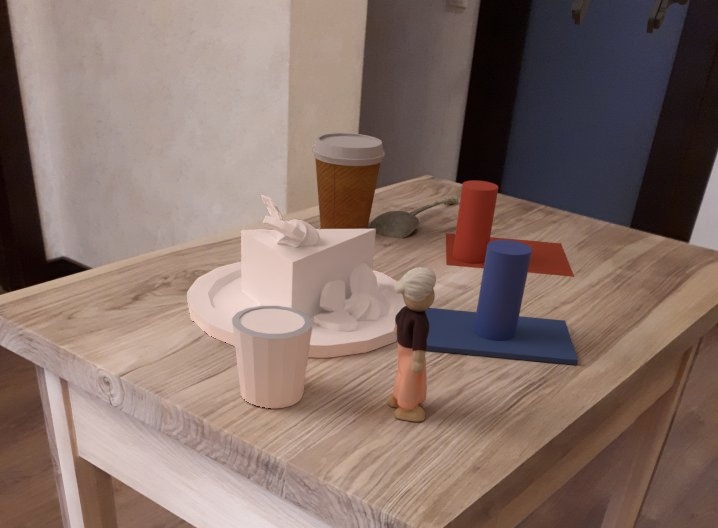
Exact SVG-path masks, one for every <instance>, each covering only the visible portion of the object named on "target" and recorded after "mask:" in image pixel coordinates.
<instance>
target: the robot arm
mask: <svg viewBox="0 0 718 528" xmlns="http://www.w3.org/2000/svg"><path fill="white" fill-rule="evenodd" d="M689 1H690V0H654V3H653V5H652V8H651V11H650V14H649V16H648V19H647V24H646V34H654V32H655V30H660V28H661V27H662V26H663V23H664V20H665V18H666V15H667V12H668V10H669V8H670V6H672V5H673V4H678V5H680V6H685V5H687V4H688V3H689ZM590 2H591V0H573V1H572V4H571V20H573V21H574V22H573V24H574V25H577V26H581V25H582V23H583V20H584V17H585V14H586V12H587V10H588V8H589V5H590Z"/></svg>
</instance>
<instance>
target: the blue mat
mask: <svg viewBox="0 0 718 528" xmlns="http://www.w3.org/2000/svg"><path fill="white" fill-rule="evenodd" d="M425 312H426V315H427V318H428V321H429V325H430V326H429V334H428V337H427V349H426V352H427V351H428V352H437V353H447V354H449V353H450V354H456V355H457V354H458V355H466V356H467V355H469V356H478V357H479V356H480V357H488V358H499V359H509V360H511V359H512V360H519V361H529V362H541V363H552V364H561V365H562V364H563V365H571V366H572V365H574V366H578V362H579V359H578V355H577V353H576V349H575V346H574V343H573V340H572V337H571V333H570V331H569V328H568V326H567V321H566V320H562V319H552V318H543V317H533V316H532V317H531V316H521V315H519V318H518V323H517V328H516V333H515V336H514V337H513V338H511V339H509V340H491V339H486V338H483V337H481V336H479V335H477V334H476V333H475V332H474V323H475V317H476V311H470V310H469V311H468V310H458V309H449V308H447V309H446V308H437V307H429V308H428V309H427V310H425Z"/></svg>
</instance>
